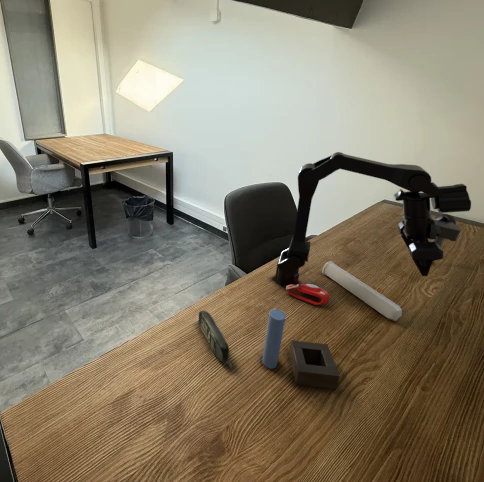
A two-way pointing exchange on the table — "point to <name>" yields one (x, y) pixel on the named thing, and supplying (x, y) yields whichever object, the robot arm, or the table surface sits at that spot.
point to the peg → (273, 338)
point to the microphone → (438, 239)
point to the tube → (363, 291)
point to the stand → (313, 374)
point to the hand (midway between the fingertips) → (420, 266)
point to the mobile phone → (214, 337)
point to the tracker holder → (309, 290)
